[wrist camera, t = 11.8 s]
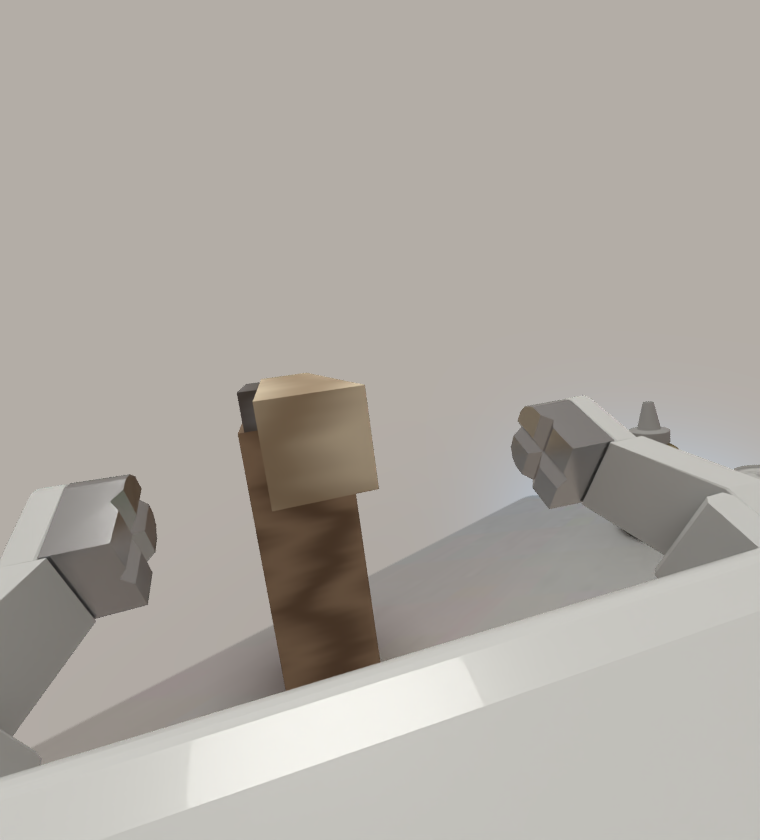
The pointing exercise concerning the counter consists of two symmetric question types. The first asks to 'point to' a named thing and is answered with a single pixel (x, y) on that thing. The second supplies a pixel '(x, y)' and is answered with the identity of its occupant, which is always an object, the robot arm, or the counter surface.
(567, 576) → the counter surface
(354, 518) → the tall stand
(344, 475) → the beech bar
